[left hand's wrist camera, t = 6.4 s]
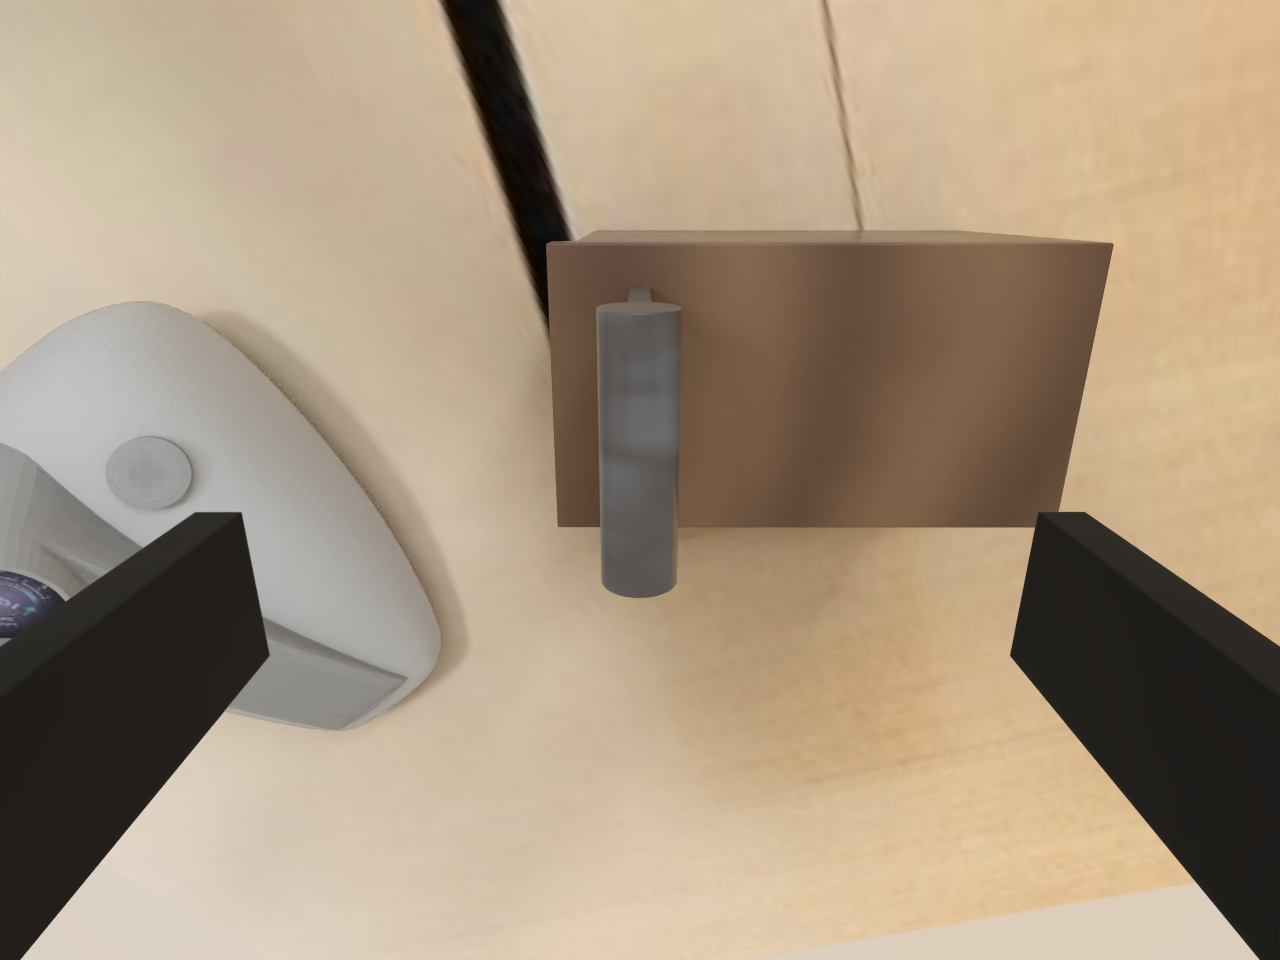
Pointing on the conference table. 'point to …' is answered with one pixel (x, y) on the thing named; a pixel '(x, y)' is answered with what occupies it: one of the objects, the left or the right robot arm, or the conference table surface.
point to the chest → (806, 236)
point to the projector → (204, 505)
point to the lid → (812, 386)
